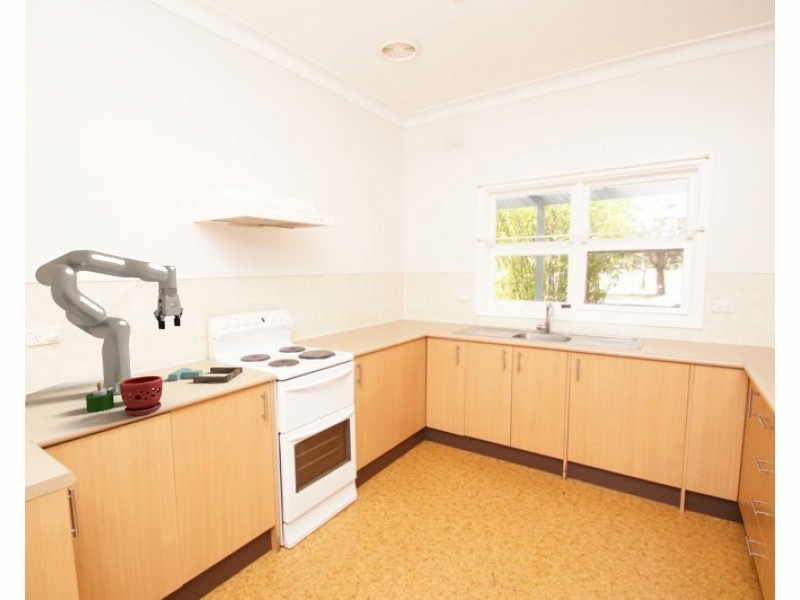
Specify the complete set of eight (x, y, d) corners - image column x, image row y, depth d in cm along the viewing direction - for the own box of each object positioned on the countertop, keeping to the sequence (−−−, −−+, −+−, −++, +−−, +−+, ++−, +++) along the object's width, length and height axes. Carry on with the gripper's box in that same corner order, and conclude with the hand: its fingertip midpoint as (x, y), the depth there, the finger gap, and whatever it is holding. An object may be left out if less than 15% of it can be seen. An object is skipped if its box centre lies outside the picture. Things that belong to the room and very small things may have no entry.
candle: (101, 412, 149) (100, 385, 148) (81, 412, 150) (79, 385, 149) (119, 404, 157) (117, 379, 156) (99, 404, 158) (97, 379, 157)
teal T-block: (194, 380, 189) (194, 374, 189) (168, 381, 189) (168, 374, 189) (206, 374, 201) (206, 368, 201) (182, 374, 201) (182, 368, 201)
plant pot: (171, 407, 154) (170, 376, 153) (138, 419, 142) (136, 386, 141) (147, 403, 159) (146, 373, 158) (113, 414, 147) (111, 382, 146)
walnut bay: (227, 382, 186) (226, 377, 186) (193, 382, 186) (193, 377, 186) (242, 372, 204) (242, 367, 204) (211, 372, 204) (211, 367, 204)
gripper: (160, 293, 184) (162, 330, 185) (187, 290, 201) (189, 325, 202) (146, 293, 186) (148, 330, 187) (174, 290, 202) (176, 324, 204)
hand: (169, 327), depth 195 cm, fingers open, 9 cm apart
